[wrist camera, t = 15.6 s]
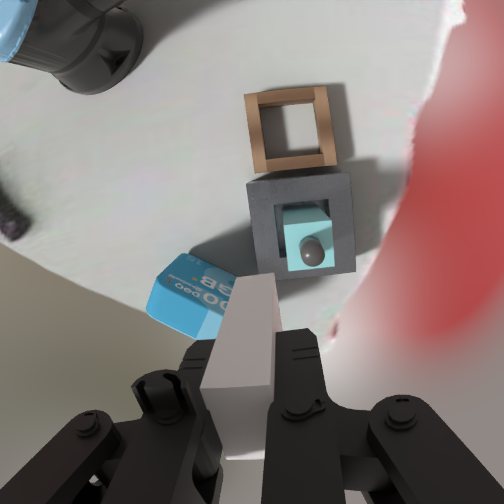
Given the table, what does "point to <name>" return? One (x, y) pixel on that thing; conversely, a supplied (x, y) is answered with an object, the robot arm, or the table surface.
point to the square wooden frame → (290, 98)
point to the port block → (298, 194)
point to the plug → (308, 237)
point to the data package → (191, 297)
